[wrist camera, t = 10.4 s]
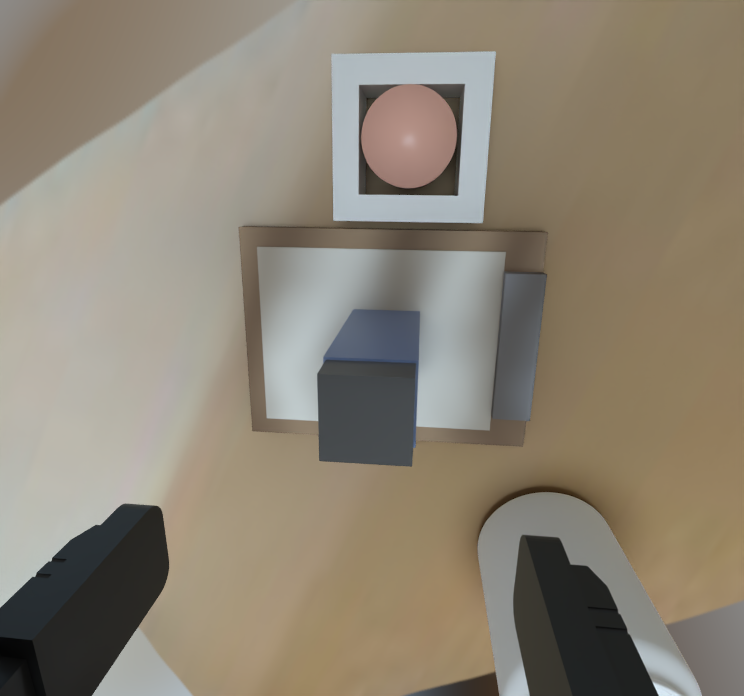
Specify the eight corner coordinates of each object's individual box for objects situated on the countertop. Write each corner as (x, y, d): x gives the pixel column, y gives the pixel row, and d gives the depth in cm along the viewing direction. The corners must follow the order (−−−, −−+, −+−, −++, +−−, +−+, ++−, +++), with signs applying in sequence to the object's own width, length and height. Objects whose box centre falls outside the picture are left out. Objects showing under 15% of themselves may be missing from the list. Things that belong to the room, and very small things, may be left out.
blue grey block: (419, 311, 26) (418, 375, 16) (417, 374, 27) (414, 469, 18) (353, 309, 26) (314, 371, 17) (353, 371, 27) (316, 463, 18)
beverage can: (503, 469, 29) (553, 640, 18) (631, 508, 29) (765, 706, 18) (458, 572, 32) (478, 780, 20) (577, 609, 32) (663, 838, 20)
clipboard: (543, 231, 25) (551, 233, 24) (520, 440, 29) (525, 453, 27) (243, 226, 27) (233, 227, 25) (256, 425, 30) (247, 437, 29)
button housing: (486, 69, 23) (495, 51, 20) (476, 220, 25) (482, 223, 22) (342, 71, 24) (331, 54, 21) (343, 218, 26) (333, 220, 23)
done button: (455, 98, 22) (460, 83, 20) (450, 189, 24) (454, 187, 21) (369, 98, 23) (361, 84, 20) (368, 188, 24) (360, 187, 21)
